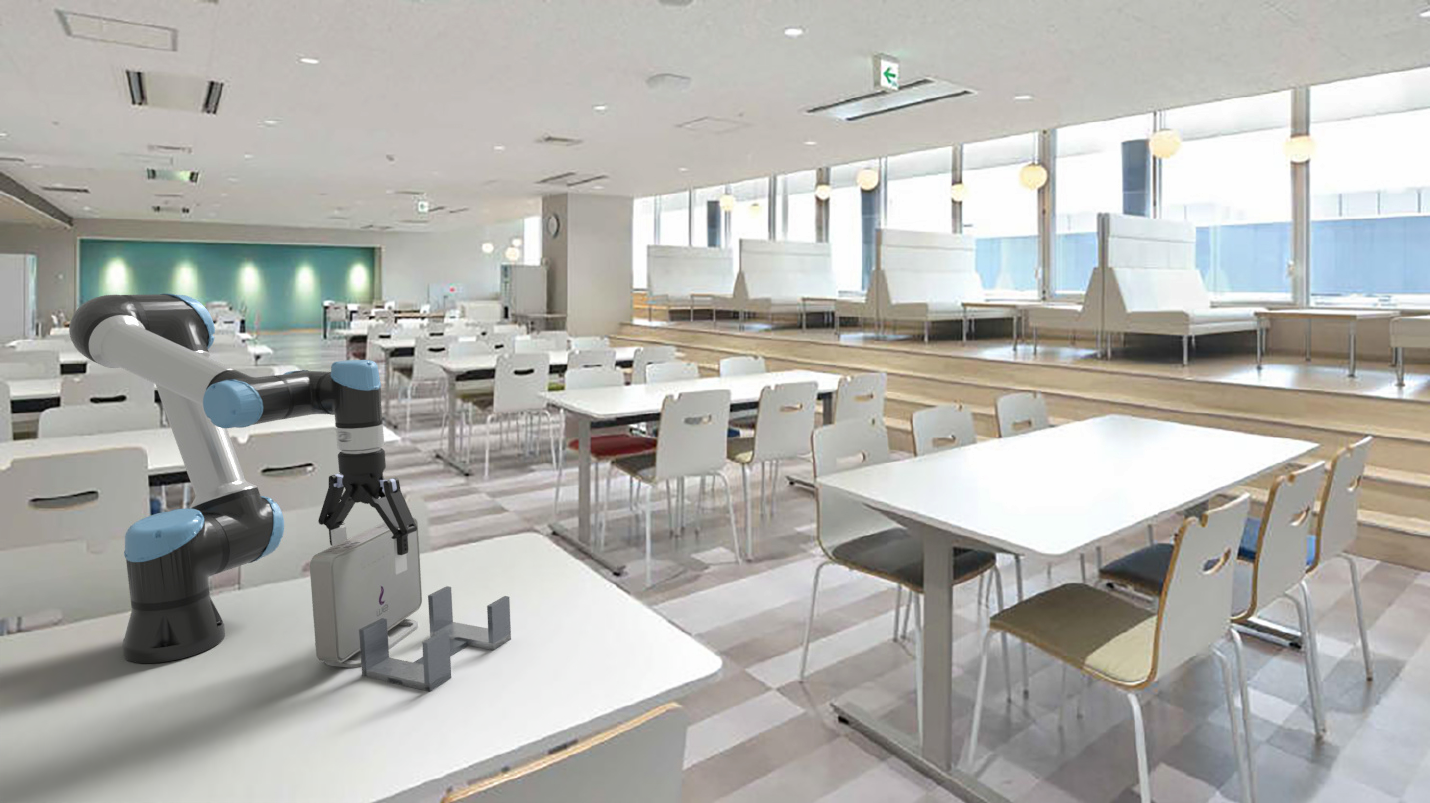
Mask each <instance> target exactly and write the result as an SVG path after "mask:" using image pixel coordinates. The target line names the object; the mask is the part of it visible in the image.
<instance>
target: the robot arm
mask: <svg viewBox="0 0 1430 803" xmlns="http://www.w3.org/2000/svg"><path fill="white" fill-rule="evenodd" d="M213 320H214V319H213V318H212V316H211V314H210V312H209V310H208V309H207V308H206V306H204V304H202V303H201V302H200V301H199V300H197V299H195V298H193V297H192V296H189V295H185V294H175V293H166V292H165V293H160V294H158V293H157V294H155V293H154V294H104V295H100V296H97V297H94V298H91V299H89V300H87V301H86V302H84V303H82V304H81V305H80V306H79V307H78V308H77V309H76V310H75V312H73V315H72V317H71V319H70V322H69V324H68V325H69V327H68V328H69V330H68V332H69V333H68V334H69V336H70V340H71V342H72V344H73V346H74V348H75V349H76V350H77V351H78V352H79V353H80V354H81V355H82V356H83V357H85V358H87V359H89V360H90V361H91V362H94V363H96V364H98V365H100V366H103V367H105V368H108V369H118V368H121V369H124V370H126V371H128V372H129V373H131V374H133V375H136V376H138V377H140V378H142V379H144V380H147V381H149V382H151V383H153V384H155V387H156V390H157V392H158V395H159V399H160V401H161V404H162V406H163V409H164V412H165V415H166V417H167V420H168V423H169V426H170V430H171V431H172V434H173V437H174V440H175V443H176V444H177V448H178V450H179V454H180V456H181V459H182V462H183V464H184V467H185V468H184V469H185V470H186V473H187V476H188V478H189V481H190V485H191V486H192V489H193V492H194V495H195V496H194V499H193V501H192V503H191V504H190V506H189V508H176V509H172V510H170V511H161V512H158V513H154V514H150V515H148V516H145V517H143V518H142V519H139V520H137V521H136V522H134V523H132V524H131V525H130V527H128V529H126V533H124V553H123V555H124V557H125V561H126V570H127V581H128V589H129V598H130V605H131V606H130V608H131V611H130V615H129V619H128V623H127V626H126V630H125V633H124V634H125V635H124V638H123V641H122V651H123V652H122V653H123V656H124V659H125V660H127V661H129V662H131V663H136V664H138V663H139V664H157V663H165V662H172V661H175V660H177V661H178V660H181V659H185V658H189V657H192V656H196V655H198V654H200V653H203V652H206V651H208V650H210V649H212V648H214V647H216V646H217V645H219V644H220V643H221V642H222V641H223V640H224V639H225V636H226V632H225V623H224V621H223V619H222V616H221V615H220V613H219V611H218V609H217V607H216V605H215V603H214V601H213V599H212V597H211V593H210V583H209V581H210V579H209V578H210V577H212V576H215V575H217V574H221V573H223V572H227V571H229V570H233V569H235V568H238V567H241V566H243V565H247V564H252V563H254V562H257V561H258V560H260V559H262V558H264V557H267V556H269V555H271V554H273V553H274V552H275V551H276V549H277V548H278V547H279V546H280V544H281V541H282V538H283V536H284V532H285V520H284V519H285V518H284V515H283V512H282V511H283V510H281V507H280V505H279V504H278V503H277V502H276V501H274V500H273V499H272V498H271V497H268V496H264V495H261V493H260V490H259V488H258V486H257V485H255V484H253V483H251V482H249V481H247V480H246V478H245V476H244V475H245V474H244V471H243V469H242V466H241V464H240V461H239V459H238V456H237V452H236V450H235V448H234V445H233V442H232V438H231V435H230V434H229V430H228V429H232V428H233V429H234V428H238V429H242V428H246V427H250V426H253V425H259V424H264V423H265V424H266V423H271V422H275V421H280V420H287V419H293V418H298V417H299V418H300V417H303V416H309V415H330V416H331V415H334V425H335V431H336V432H335V434H336V446H337V449H338V450H339V453H338V454H337V461H338V472H339V473H335V474H331V475H329V476H328V489H327V491H326V494H325V498H324V501H323V505H322V507H321V510H320V513H319V516H318V522H317V523H318V524H319V525H321V526H322V525H323V526H325V527H326V529H328V535H329V536H328V537H329V544H330V546H331V547H333V546H335V545H337V544H339V543H341V542H343V541H345V540H347V539H348V537H347V536H348V535H347V534H348V533H347V526H344V525H345V524H346V523H345V520H346V519H347V517H348V515H349V514H350V512H351V511H352V509H353V508H354V505H355V504H358V503H362V504H365V505H370V507H371V508H374V509H375V510H376V512H377V513H378V515H379V516H380V517H381V519H382V521H383V522H385V523H386V525H387V526H388V528H389V529H390V531H391V532H392V534H393V536H392V537H391V538H390V544H391V558H392V573H393V574H394V575H397V574H399V573H401V572H404V571H406V570H407V557H406V553H408V534H410V533H412V532H415V531H417V526H416V524H415V521H414V519H413V518H414V517H413V515H412V512H411V510H410V508H409V506H408V504H407V502H406V500H405V498H404V495H403V492H402V491H401V485H400V480H399V478H397V477H394V478H390V479H385V477H384V471H385V469H386V468H387V464H386V450H384V448H382V447H384V446H385V436H384V435H385V434H384V425H383V424H384V423H383V413H382V394H381V393H382V391H381V387H382V383H381V380H380V372H379V366H378V364H377V362H375V361H373V360H372V359H351V360H350V359H349V360H338V361H334V362H332V363H331V366H330V369H331V370H330V371H317V370H316V371H315V370H308V369H300V370H290V371H287V372H284V373H283V374H276V375H266V376H257V377H256V376H251V375H248V374H246V373H243V372H241V371H238V370H237V369H234V368H232V367H229V366H227V365H226V364H223V363H221V362H219V361H217V360H214V359H212V358H210V355H211V354H210V352H209V350H210V349H211V347H212V346H213V345H214V341H215V336H214V335H213V334H215V333H216V330H215V329H216V328H215V323H214V321H213ZM344 489H345V490H344ZM407 526H408V527H407ZM398 528H399V529H400V530H399V529H398Z"/></svg>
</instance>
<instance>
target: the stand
mask: <svg viewBox="0 0 1430 803" xmlns="http://www.w3.org/2000/svg"><path fill="white" fill-rule="evenodd" d="M427 598H428V600H427V602H428V622H429V638H428V639H426V640H424V641H422V642H421V644H422V646H421V647H422V657H420V658H418V659H416V660H415V661H413V662H412V661H408V660H403V659H400V658H399V659H398V658H394V657H390V649H389V647H388V636H389V631H387V619H385V618H381V619H379V620H377V621H375V622H373V623H371V624H369V625H367V626H365V627H363V628H361V629H359V637H360V651H359V652H360V661H361V666H360V667H361V677H365V678H370V679H374V680H378V681H382V682H387V683H390V684H391V683H392V684H396V685H400V686H403V687H404V686H405V687H409V688H413V689H417V690H421V691H427V692H431V691H433V690H434V689H437V688H438V687H439V686H441V685H442V684H444V683H446V681H448V680H450V679H452V666H451V665H452V664H451V663H452V662H451V656H453V655H455V654H456V653H459V651H461V650H463V649H465V648H466V647H467V646H471V647H475V648H480V649H485V650H486V649H487V650H491V651H496V649H498V648H500V647H502V646H503V645H504V644H505V643H507V642H509V641H510V640H512V633H511V632H512V630H511V629H512V628H511V602H510V596H507V595H504V596H502V597H500V598H499V599H497V600H494V601H493V602H491V603H490V604H488V605H487V606H486V608H487V611H486V612H487V627H482V626H477V625H472V624H467V623H461V622H456V621H454V616H453V615H454V614H453V599H452V598H453V597H452V587H451V586H448V585H446V586H444V587H442V588H441V589H438V590H436V591H434V592H432V593H430V594H428V595H427Z"/></svg>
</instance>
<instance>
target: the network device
mask: <svg viewBox="0 0 1430 803" xmlns="http://www.w3.org/2000/svg"><path fill="white" fill-rule="evenodd" d="M413 519H414V521H415V524H416V526H417V531H415V532H412V533H410V534H408V553H406V557H407V570H406V571H404V572H401V573H399V574H397V575H394V574H393V573H392V558H391V544H390V538H391V537H392V536H393V534H392V532H391V531H390V529H389V528H388V526H387V525H386V523H385V522H384V521H383V522H382V523H380V524H377V525H375V526H373V527H371V528H369V529H366V530H365V531H363V532H360V533H358V534H356V535H354V536H352V537H349V538H347V540H345V541H343V542H341V543H339V544H337V545H335V546H333V547H332V546H331V547H328V548H326V549H324V550H322V551H320V552H318V553H316V554H314V555H313V556H312V558H311V559H310V562H309V576H310V587H311V601H312V616H313V628H314V640H315V641H314V642H315V656H316V659H317V660H318V661H321V662H324V664H325V665H327V666H332V667H343V668H357V667H361V660H351V659H350V658H351V657H352V656H354V655H356V654H357V653H358V652H360V637H359V629H361V628H363V627H365V626H367V625H369V624H371V623H373V622H375V621H377V620H379V619H381V618H385V619H387V631H388V632H389V631H390V630H391V629H393V628H394V627H396V626H397V625H399V626H400V625H401V626H409V627H408V628H406V629H405V630H404V631H402V632H401V633H399V634H398V635H396V636H389V635H388V647H389V650H391V649H392V648H393V647H395V646H396V645H397V644H399V643H400V642H401V641H403V640H404V639H405V638H407V637H409V636H410V635H411V634H412V633H414V632H415V631H417V629H418V628H419V622H418V621H417V620H414V619H409V617H410V616H411V615H414V613H416V612H417V611H418V610H419V609H420V608H421V606H422V603H423V595H422V594H423V593H422V592H423V591H422V577H421V576H422V575H421V558H420V557H421V556H420V554H421V553H420V538H419V522H418V519H417V518H416V517H413ZM407 527H408V526H407ZM398 529H399V528H398ZM399 530H400V529H399Z"/></svg>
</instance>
